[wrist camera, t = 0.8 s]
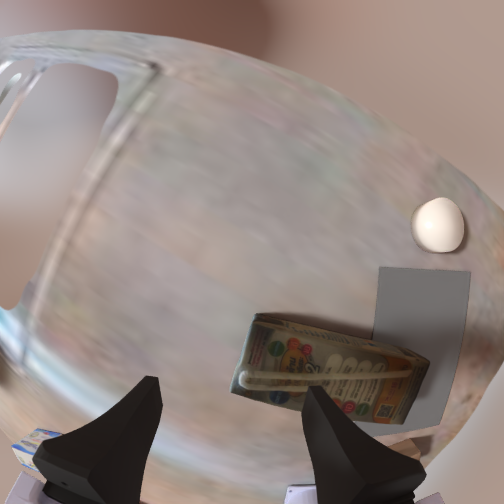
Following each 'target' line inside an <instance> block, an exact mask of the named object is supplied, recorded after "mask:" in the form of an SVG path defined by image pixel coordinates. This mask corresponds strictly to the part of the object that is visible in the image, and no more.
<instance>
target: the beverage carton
mask: <svg viewBox="0 0 504 504" xmlns="http://www.w3.org/2000/svg"><path fill="white" fill-rule="evenodd" d="M429 366H430V361H429V360H428V359H426V358H424V357H423V356H421V355H419V354H417V353H415V352H413V351H412V350H410V349H407V348H403V347H399V346H395V345H390V344H386V343H381V342H377V341H372V340H367V339H362V338H358V337H354V336H349V335H345V334H341V333H336V332H332V331H329V330H324V329H321V328H316V327H312V326H307V325H303V324H298V323H294V322H290V321H285V320H280V319H275V318H272V317H268V316H265V315H262V314H258V313H256V314H255V315H254V316H253V318H252V322H251V325H250V328H249V331H248V333H247V337H246V340H245V343H244V346H243V349H242V352H241V356H240V359H239V361H238V363H237V365H236V369H235V372H234V375H233V378H232V382H231V385H230V392H231V393H234V394H237V395H240V396H244V397H247V398H249V399H252V400H256V401H260V402H264V403H267V404H271V405H274V406H279V407H283V408H287V409H291V410H295V411H300V412H302V409H303V405H304V402H305V398H306V394H307V390H308V386H316V385H321V386H322V387H323V388H324V390H325V391H326V392H327V393H328V395H329V396H330V397H331V398H332V400H333V401H334V402H335V403H336V404H337V405H338V407H339V408H340V409H341V410H342V411H343V412H344V413H345V414H346V415H347V416H348V417H349V418H350V419H351V420H352V421H359V422H368V423H378V424H391V425H392V424H397V425H403V424H404V422H405V420H406V418H407V416H408V413H409V411H410V409H411V407H412V405H413V403H414V401H415V400H416V397H417V395H418V393H419V390H420V387H421V385H422V382H423V380H424V378H425V376H426V373H427V371H428V368H429Z"/></svg>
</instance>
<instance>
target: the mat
mask: <svg viewBox="0 0 504 504" xmlns="http://www.w3.org/2000/svg"><path fill="white" fill-rule="evenodd" d="M469 285H470V272H463V271H444V270H425V269H407V268H389V267H379V281H378V293H377V303H376V313H375V321H374V329H373V336H372V341H377V342H381V343H386V344H390V345H395V346H399V347H403V348H407V349H410V350H412V351H413V352H415V353H417V354H419V355H421V356H423V357H424V358H426V359H428V360H429V361H430V366H429V368H428V371H427V373H426V376H425V378H424V380H423V382H422V385H421V387H420V390H419V393H418V395H417V397H416V400H415V401H414V403H413V405H412V407H411V409H410V411H409V413H408V416H407V418H406V420H405V422H404V424H403V425H397V424H392V425H391V424H378V423H368V422H359V421H356V422H355V424H356V425H357V426H358V427H359V428H361V429H362V430H363V431H364V432H366V433H367V434H368V435H370V436H371V437H375V436H382V435H389V434H396V433H402V432H408V431H413V430H418V429H423V428H427V427H432V426H436V425H439V423H440V421H441V418H442V415H443V412H444V409H445V406H446V403H447V400H448V396H449V393H450V390H451V386H452V383H453V379H454V375H455V371H456V367H457V363H458V358H459V354H460V349H461V344H462V338H463V333H464V327H465V320H466V313H467V305H468V296H469Z"/></svg>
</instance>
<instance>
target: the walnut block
mask: <svg viewBox="0 0 504 504" xmlns="http://www.w3.org/2000/svg"><path fill="white" fill-rule="evenodd" d="M388 447H389V448H390V449H392V450H394V451H397V452H399V453H401V454H403V455H406V456H408V457H411V458H414V459H417V460H420V454H421V452H420V451H419V449H418V448H417V447H416V445H415V444H414V443H413V441H412V440H411V439H410V438H409V439H406V440H404V441H401V442H399V443H396V444H393V445H391V446H388Z"/></svg>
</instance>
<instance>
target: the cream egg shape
mask: <svg viewBox="0 0 504 504" xmlns="http://www.w3.org/2000/svg"><path fill="white" fill-rule="evenodd" d="M411 233H412V236H413V239H414V241H415V243H416V244H417V245H418V247H419V248H421V249H422V250H423V251H425V252H428V253H438V252H450V251H453V250H454V249H456V248H457V247H458V246H459V245H460V243H461V241H462V238H463V235H464V221H463V217H462V214H461V212H460V210H459V208H458V207H457V206H456V204H455V203H454V202H452V201H451V200H449V199H447V198H437V199H434V200H432V201H429V202H427V203H424V204H422V205H420V206H418V207H417V208H416V210H415V211H414V213H413V215H412V218H411Z"/></svg>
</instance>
